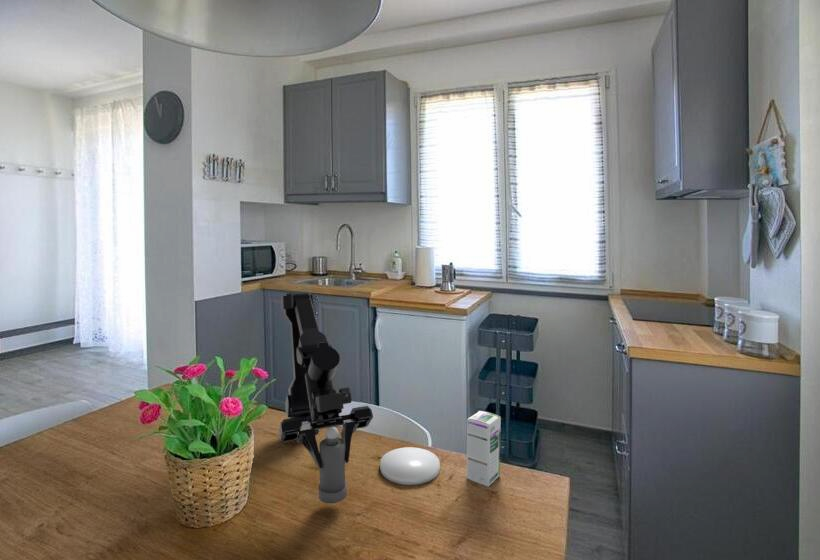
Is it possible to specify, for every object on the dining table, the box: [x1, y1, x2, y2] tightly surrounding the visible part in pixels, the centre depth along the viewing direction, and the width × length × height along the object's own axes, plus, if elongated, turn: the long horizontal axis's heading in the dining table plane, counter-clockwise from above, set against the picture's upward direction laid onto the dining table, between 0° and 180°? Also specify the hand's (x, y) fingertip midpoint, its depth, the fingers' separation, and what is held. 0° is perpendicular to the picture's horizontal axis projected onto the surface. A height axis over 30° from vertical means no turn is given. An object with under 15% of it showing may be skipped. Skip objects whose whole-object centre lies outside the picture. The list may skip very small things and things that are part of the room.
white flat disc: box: [379, 446, 441, 486], centre depth 103 cm, size 14×14×2 cm
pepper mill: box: [318, 426, 348, 504], centre depth 87 cm, size 6×6×14 cm
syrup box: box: [466, 410, 502, 487], centre depth 98 cm, size 6×6×14 cm
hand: (334, 465), depth 86 cm, fingers closed on pepper mill, 5 cm apart
